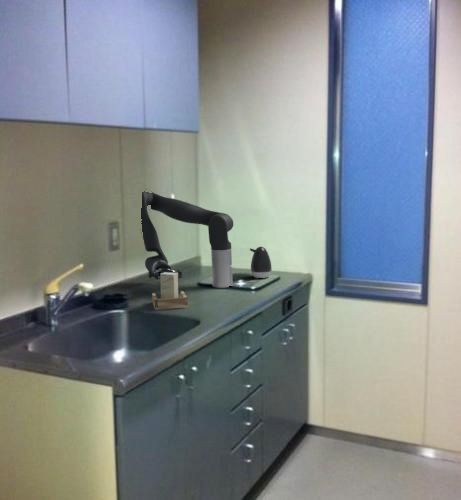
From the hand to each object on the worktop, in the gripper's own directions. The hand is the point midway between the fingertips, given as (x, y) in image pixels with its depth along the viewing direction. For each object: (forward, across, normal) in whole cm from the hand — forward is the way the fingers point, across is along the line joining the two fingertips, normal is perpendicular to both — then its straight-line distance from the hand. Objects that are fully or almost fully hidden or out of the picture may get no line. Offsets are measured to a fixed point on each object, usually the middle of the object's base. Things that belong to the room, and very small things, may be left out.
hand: (167, 277), depth 268 cm
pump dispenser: (-27, +50, +6) cm, 58 cm away
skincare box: (+11, 0, +8) cm, 14 cm away
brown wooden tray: (+11, 0, +9) cm, 15 cm away
